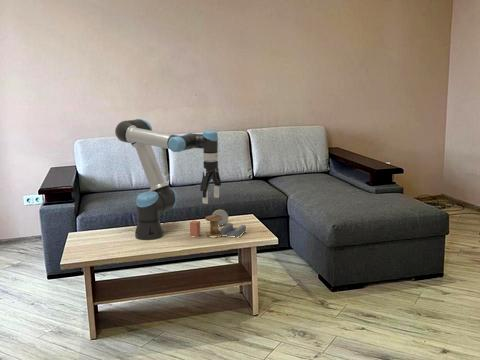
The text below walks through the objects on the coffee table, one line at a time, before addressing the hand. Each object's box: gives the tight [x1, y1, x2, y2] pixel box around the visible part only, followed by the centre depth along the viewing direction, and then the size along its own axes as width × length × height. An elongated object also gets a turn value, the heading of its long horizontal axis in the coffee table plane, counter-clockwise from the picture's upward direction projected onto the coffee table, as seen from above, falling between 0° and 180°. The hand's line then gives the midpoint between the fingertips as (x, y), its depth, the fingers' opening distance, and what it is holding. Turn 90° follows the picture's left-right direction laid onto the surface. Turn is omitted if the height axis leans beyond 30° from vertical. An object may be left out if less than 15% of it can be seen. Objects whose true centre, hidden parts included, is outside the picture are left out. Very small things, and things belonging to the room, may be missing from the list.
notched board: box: [220, 223, 247, 237], centre depth 271 cm, size 10×11×4 cm
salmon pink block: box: [189, 220, 201, 238], centre depth 269 cm, size 4×4×8 cm
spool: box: [205, 214, 222, 237], centre depth 270 cm, size 9×9×10 cm
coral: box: [211, 208, 229, 226], centre depth 290 cm, size 10×10×10 cm
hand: (211, 200), depth 265 cm, fingers open, 13 cm apart
